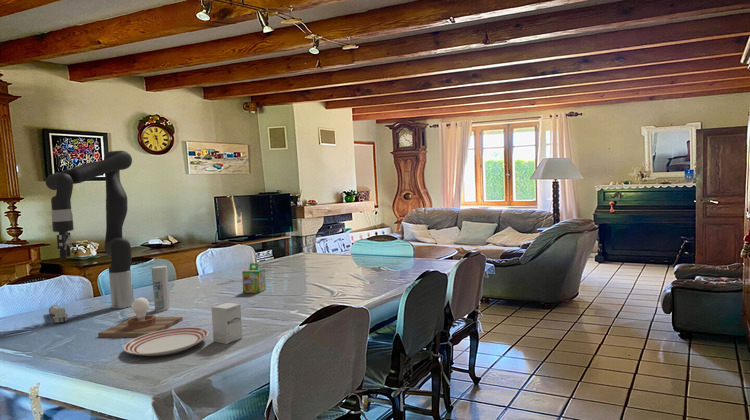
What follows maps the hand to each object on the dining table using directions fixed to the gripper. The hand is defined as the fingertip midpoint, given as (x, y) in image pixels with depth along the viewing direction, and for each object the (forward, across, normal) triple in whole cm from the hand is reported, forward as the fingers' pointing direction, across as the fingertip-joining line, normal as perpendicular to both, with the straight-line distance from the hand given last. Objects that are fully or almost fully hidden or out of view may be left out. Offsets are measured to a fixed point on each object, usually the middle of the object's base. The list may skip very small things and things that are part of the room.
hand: (65, 257), depth 208 cm
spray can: (+28, +1, -36) cm, 46 cm away
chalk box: (+28, +16, -81) cm, 87 cm away
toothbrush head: (+29, +12, +7) cm, 32 cm away
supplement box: (+28, -63, -59) cm, 91 cm away
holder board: (+28, -29, -30) cm, 50 cm away
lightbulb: (+27, -29, -30) cm, 49 cm away
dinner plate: (+29, -60, -39) cm, 77 cm away
